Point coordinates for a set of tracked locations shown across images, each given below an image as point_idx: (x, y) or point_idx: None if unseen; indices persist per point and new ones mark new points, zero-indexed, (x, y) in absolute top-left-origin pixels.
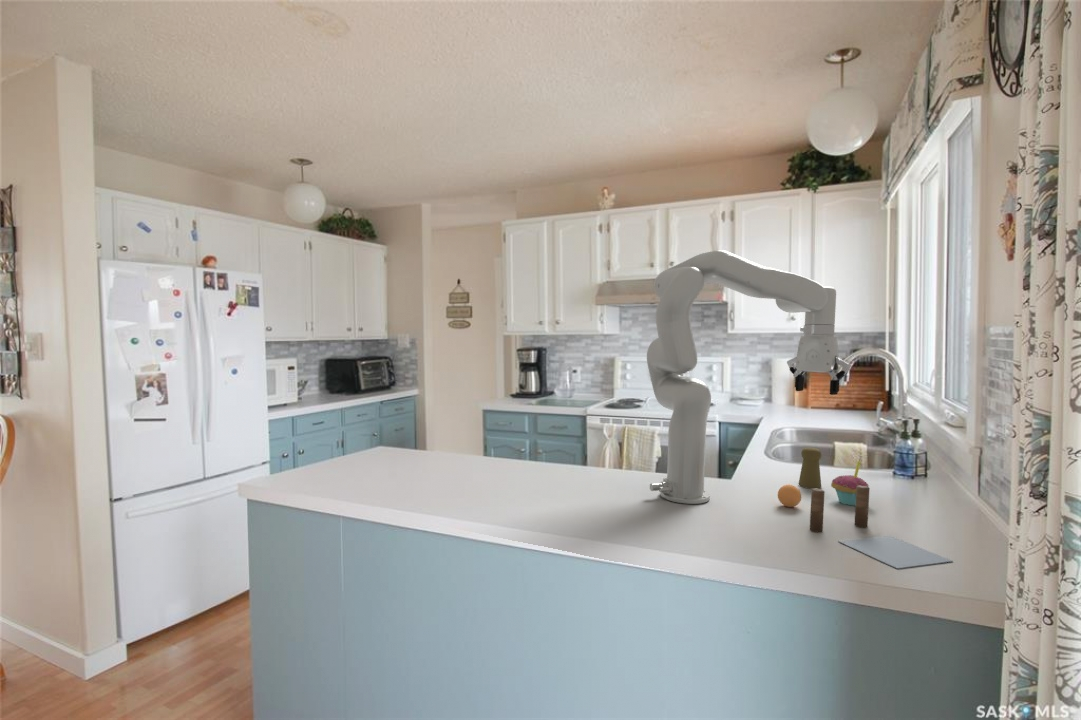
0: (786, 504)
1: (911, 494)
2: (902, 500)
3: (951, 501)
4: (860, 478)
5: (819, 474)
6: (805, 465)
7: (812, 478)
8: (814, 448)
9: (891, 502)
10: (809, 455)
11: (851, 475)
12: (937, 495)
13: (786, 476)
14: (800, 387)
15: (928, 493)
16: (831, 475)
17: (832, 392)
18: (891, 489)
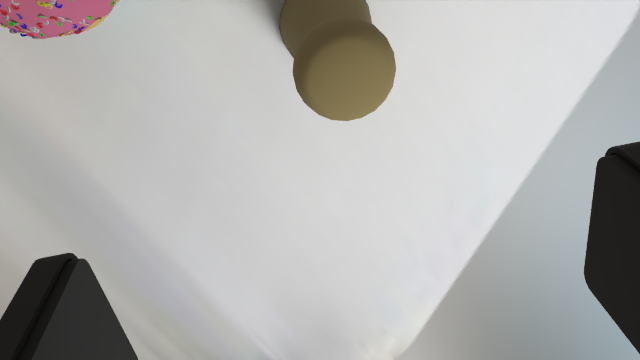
0: None
1: (109, 264)
2: (53, 178)
3: None
4: (8, 9)
5: (292, 52)
6: (338, 11)
7: (297, 7)
8: (334, 88)
9: (38, 119)
10: (322, 24)
11: (53, 3)
12: None
13: (469, 60)
14: (621, 243)
15: None
16: (387, 231)
17: (33, 284)
18: (176, 259)
